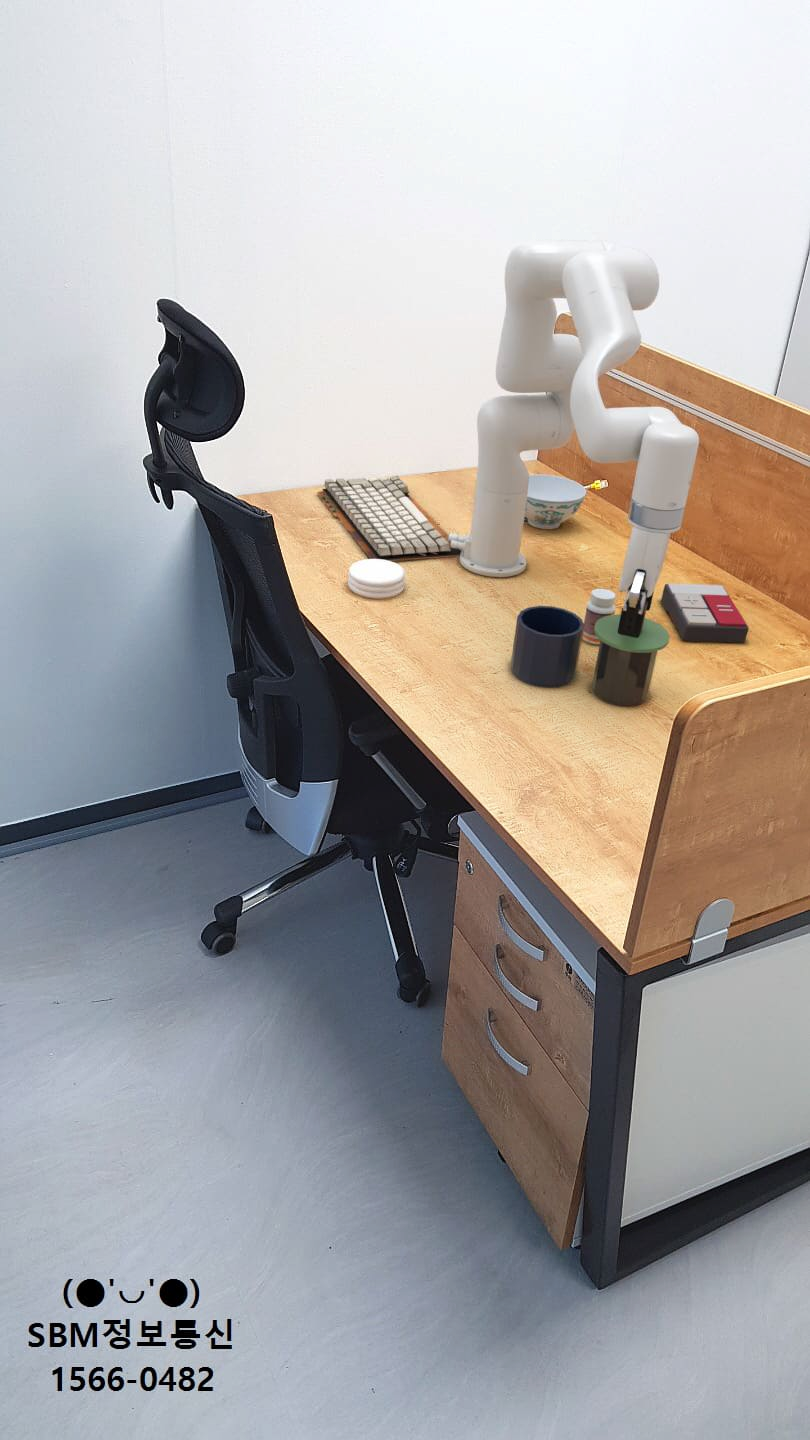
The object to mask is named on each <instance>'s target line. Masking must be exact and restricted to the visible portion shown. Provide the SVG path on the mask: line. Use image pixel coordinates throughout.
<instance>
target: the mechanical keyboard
mask: <svg viewBox="0 0 810 1440" xmlns="http://www.w3.org/2000/svg"><path fill="white" fill-rule="evenodd" d="M323 486H324V487H325V488H322V491H317V496H318V497H319V498H320V499H321V501H322V503H324V504H325V506H326V507H327V508H328V509H329V511H330V512H331V513H332V515H333V516H334V517H335V518H338V519H339V523H340V524H341V525H342V526H343V527H344V528H345V529H346V530H347V531H348V532H349V534H351V536H352V538H353V540H355V542H356V544H357V546H359V547H360V549H361V550H362V552H364V554H365V555H366V557H367V559H383V560H388V561H391V562H394V563H396V562H409V561H421V560H434V559H447V558H449V559H450V558H458V557H459V558H460V554H461V552H462V549H458V548H457V549H456V548H452V547H451V543H448V537H449V536H447V534H446V533H445V532H444V531H443V530H442V529H441V528H440V527H439V526H438V525H437V524H436V523H435V521H433V519H432V518H431V517H430V516H429V515H428V514H427V513H426V512H425V510H423V508H422V507H421V506H420V505H419V504H418V503H417V502H416V501H415V499H414V498H412V497H411V496H410V495H409V494H410V490H409V487H408V485H407V484H406V483H405V482H404V481H403V479H401V478H400V477H399V475H394V476H391V477H390V478H389V477H388V476H386V475H385V476H382V477H379V478H378V477H376V476H374V477H370V478H368V480H367V478H364V477H362V478H361V477H360V478H348V479H346V480H345V479H344V478H336V479H335V480H334V479H331V478H329V479H324V485H323Z"/></svg>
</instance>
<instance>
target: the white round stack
mask: <svg viewBox="0 0 810 1440" xmlns="http://www.w3.org/2000/svg"><path fill="white" fill-rule="evenodd" d="M405 577H406V571H405V569H404V568H403V566H401V565H399V564H398V563H396V562H391V561H388V560H383V559H369V558H367V559H361V560H358V561H355V562H353V563H352V564H351V565H349V568H348V577H347V578H348V581H347V586H348V588H349V589H350V591H352V592H353V593H354V594H356V595H358V596H361V597H363V598H368V599H375V600H376V599H377V600H381V599H382V600H383V599H384V600H385V599H390V598H394V597H396V596H398V595H400V594H401V593H402V592H403V591H404V589H405V582H406V580H405Z"/></svg>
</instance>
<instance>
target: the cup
mask: <svg viewBox="0 0 810 1440" xmlns="http://www.w3.org/2000/svg"><path fill="white" fill-rule="evenodd" d="M658 652H659V651H655V652H649V653H636V652H629V651H624V650H620V649H617V648H614V647H611V646H609V645H607V644H606V643H604V642H602V641H601V640H600V645H598V650H597V656H596V661H595V666H594V672H593V676H592V677H593V678H592V682H591V691H592V693H593V695H594V696H595V698H597V699H599V700H600V701H602V702H604V703H606V704H608V705H611V706H616V707H621V708H622V707H623V708H626V707H627V708H631V707H637V706H640V705H642V704H644V703H646V701H647V700H648V696H649V693H650V688H651V684H652V680H653V675H654V670H655V666H656V662H657V657H658V654H659V653H658Z"/></svg>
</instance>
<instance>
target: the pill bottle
mask: <svg viewBox="0 0 810 1440" xmlns="http://www.w3.org/2000/svg"><path fill="white" fill-rule="evenodd" d="M616 596H617V595H616V593H615V592H614V591H613V590H611V589H607V588H595V589H593V590H591V592H590V596H589V600H588V601H587V603H586V606H585V612H584V613H585V614H584V618H583V623H584V631H583V637H582V640H583V641H584V642H586V643H588V644H593V645H597V646H599V645H600V639H599V638H598V637H597V636H596V634H595V632H594V627H595V623H596V622H597V621H598V620H599V619H601V618H603V617H605V616H609V615H616V605H615V602H616V598H617V597H616Z"/></svg>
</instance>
